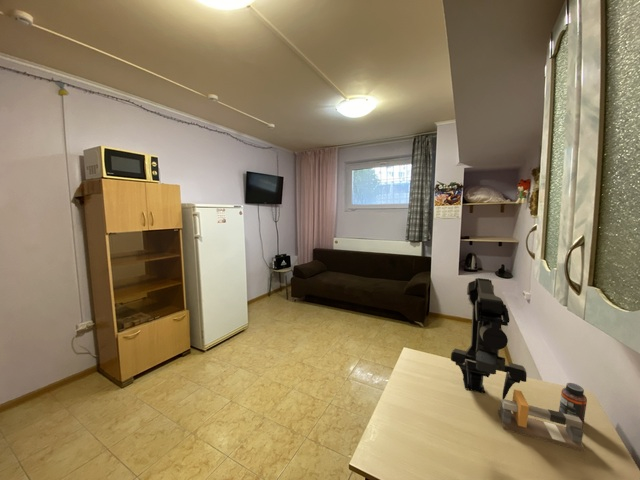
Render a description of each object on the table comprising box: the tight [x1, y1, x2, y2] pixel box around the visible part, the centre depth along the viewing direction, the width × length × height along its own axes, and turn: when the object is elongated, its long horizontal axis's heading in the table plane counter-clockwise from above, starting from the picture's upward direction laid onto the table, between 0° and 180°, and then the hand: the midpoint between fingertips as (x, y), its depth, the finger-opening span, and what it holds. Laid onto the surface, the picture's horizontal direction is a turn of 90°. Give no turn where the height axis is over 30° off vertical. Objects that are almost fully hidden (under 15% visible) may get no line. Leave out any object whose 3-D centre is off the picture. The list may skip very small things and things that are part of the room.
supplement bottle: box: [558, 382, 588, 425], centre depth 84 cm, size 6×6×11 cm
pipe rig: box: [497, 398, 585, 452], centre depth 80 cm, size 7×19×7 cm, turn 68°
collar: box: [511, 389, 530, 427], centre depth 81 cm, size 7×2×7 cm, turn 158°
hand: (484, 392), depth 78 cm, fingers open, 9 cm apart
